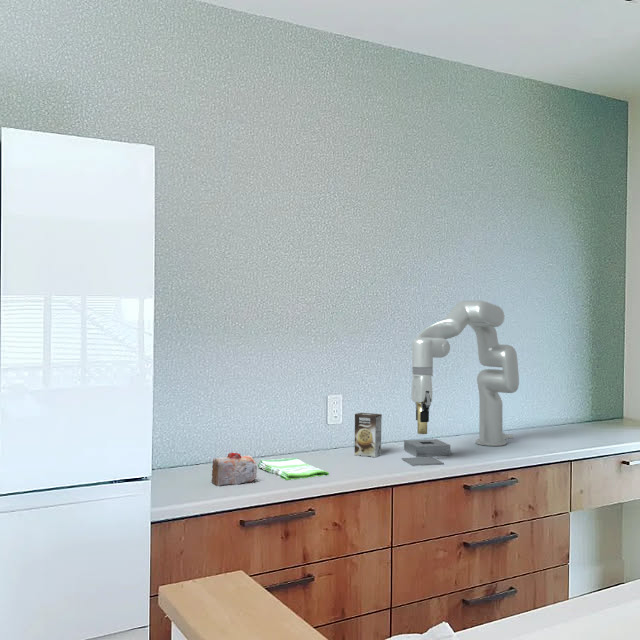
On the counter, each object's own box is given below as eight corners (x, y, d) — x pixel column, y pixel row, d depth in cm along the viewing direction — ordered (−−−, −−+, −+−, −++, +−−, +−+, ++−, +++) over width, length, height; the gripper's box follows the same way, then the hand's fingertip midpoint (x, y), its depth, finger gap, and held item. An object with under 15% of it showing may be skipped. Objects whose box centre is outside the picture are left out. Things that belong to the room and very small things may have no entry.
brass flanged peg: (413, 432, 266) (413, 399, 266) (426, 432, 267) (426, 398, 267) (418, 434, 261) (418, 400, 261) (431, 434, 262) (431, 400, 262)
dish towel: (299, 464, 262) (299, 454, 262) (330, 476, 242) (330, 466, 242) (256, 469, 254) (256, 459, 254) (285, 482, 234) (285, 471, 234)
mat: (431, 458, 271) (431, 456, 271) (443, 464, 260) (443, 462, 260) (401, 459, 269) (401, 458, 269) (412, 465, 257) (412, 464, 257)
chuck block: (436, 448, 290) (436, 439, 290) (450, 455, 276) (450, 445, 276) (404, 450, 287) (404, 440, 287) (416, 457, 273) (416, 446, 273)
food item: (248, 478, 238) (249, 448, 238) (258, 483, 231) (258, 452, 231) (210, 482, 231) (210, 452, 231) (218, 487, 224) (218, 456, 224)
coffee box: (353, 455, 276) (353, 414, 276) (360, 452, 282) (360, 412, 282) (375, 457, 272) (375, 415, 272) (382, 454, 278) (382, 413, 278)
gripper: (405, 370, 271) (405, 418, 271) (421, 373, 255) (420, 424, 255) (423, 370, 273) (423, 417, 273) (440, 373, 257) (440, 424, 257)
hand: (422, 420), depth 264 cm, fingers closed on brass flanged peg, 3 cm apart
